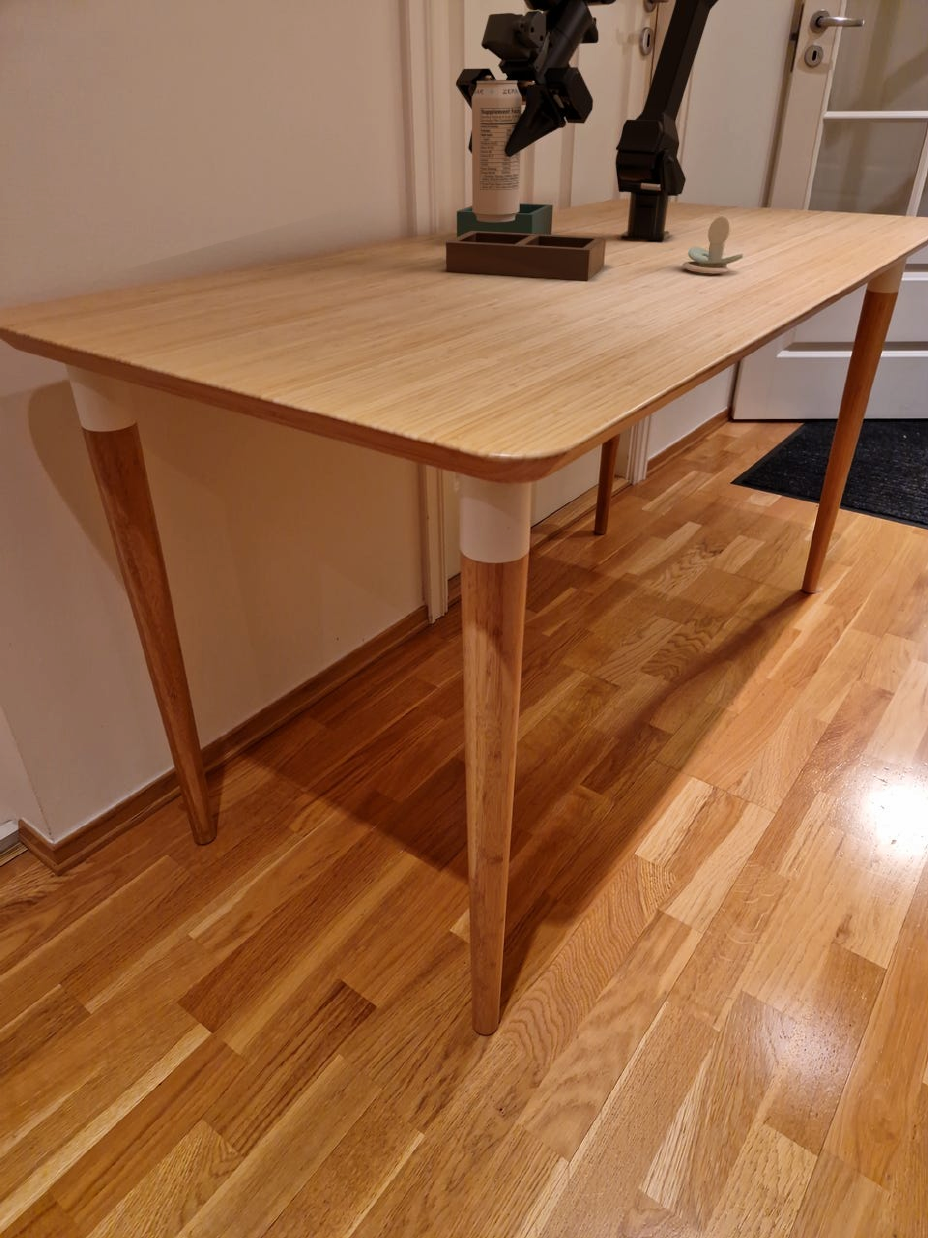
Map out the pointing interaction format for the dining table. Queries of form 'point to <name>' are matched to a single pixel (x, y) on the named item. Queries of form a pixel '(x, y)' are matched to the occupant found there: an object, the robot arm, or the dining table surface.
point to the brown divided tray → (526, 255)
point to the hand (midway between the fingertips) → (488, 152)
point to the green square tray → (526, 221)
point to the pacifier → (712, 250)
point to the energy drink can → (495, 151)
